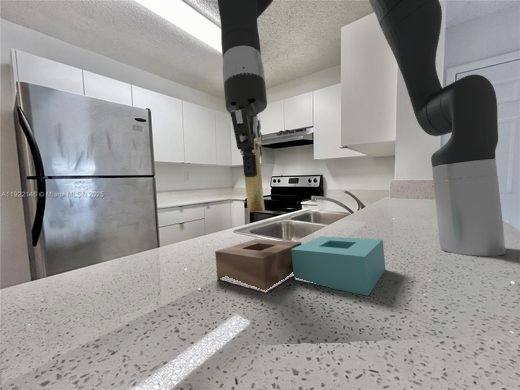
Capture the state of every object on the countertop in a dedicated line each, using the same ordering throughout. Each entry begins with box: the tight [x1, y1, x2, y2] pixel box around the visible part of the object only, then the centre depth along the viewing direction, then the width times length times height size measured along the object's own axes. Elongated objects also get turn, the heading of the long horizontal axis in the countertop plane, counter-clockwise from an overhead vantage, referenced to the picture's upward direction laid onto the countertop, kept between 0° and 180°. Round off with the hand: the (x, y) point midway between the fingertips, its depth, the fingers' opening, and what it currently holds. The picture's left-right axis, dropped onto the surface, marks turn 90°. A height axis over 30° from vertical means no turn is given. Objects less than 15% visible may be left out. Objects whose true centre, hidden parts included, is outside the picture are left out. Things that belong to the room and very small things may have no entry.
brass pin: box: [242, 137, 266, 213], centre depth 39 cm, size 4×4×13 cm
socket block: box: [291, 235, 387, 297], centre depth 35 cm, size 11×11×5 cm
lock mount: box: [214, 238, 302, 291], centre depth 38 cm, size 11×11×5 cm
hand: (253, 177), depth 39 cm, fingers closed on brass pin, 3 cm apart
